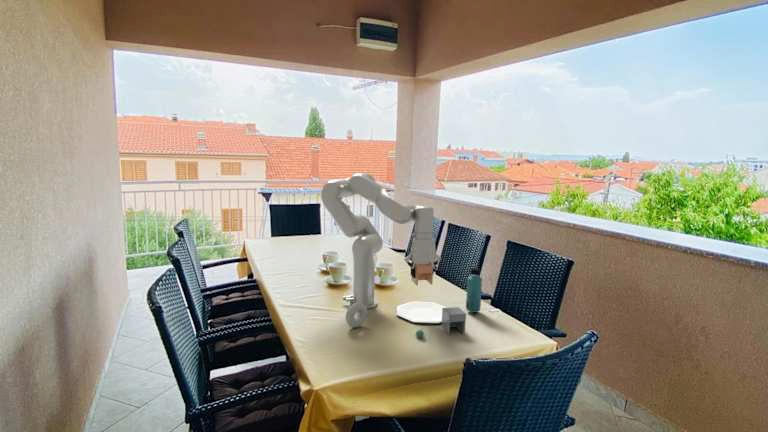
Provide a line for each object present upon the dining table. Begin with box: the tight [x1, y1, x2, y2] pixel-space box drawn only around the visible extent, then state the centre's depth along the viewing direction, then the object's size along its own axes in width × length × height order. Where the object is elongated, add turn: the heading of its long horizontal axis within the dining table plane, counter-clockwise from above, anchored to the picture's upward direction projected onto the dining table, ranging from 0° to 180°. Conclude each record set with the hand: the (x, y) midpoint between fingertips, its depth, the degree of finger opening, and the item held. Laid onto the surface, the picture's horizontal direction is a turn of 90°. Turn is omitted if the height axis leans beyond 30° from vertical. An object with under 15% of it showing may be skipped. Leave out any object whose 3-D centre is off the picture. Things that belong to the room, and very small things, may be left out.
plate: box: [396, 300, 449, 325], centre depth 173 cm, size 24×24×2 cm
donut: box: [345, 303, 368, 329], centre depth 157 cm, size 10×4×10 cm, turn 132°
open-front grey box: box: [441, 306, 467, 336], centre depth 157 cm, size 7×7×8 cm
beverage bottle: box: [465, 267, 483, 313], centre depth 175 cm, size 6×7×20 cm
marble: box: [415, 329, 425, 339], centre depth 150 cm, size 3×3×3 cm
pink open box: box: [411, 263, 434, 286], centre depth 169 cm, size 7×7×8 cm
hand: (422, 276), depth 170 cm, fingers closed on pink open box, 7 cm apart
